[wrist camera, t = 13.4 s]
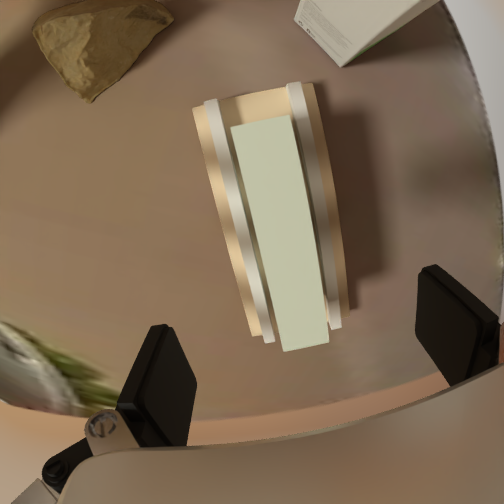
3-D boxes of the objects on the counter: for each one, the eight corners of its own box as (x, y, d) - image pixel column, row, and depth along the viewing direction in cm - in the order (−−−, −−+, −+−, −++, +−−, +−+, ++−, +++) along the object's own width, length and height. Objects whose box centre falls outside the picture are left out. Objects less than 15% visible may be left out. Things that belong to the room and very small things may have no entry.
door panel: (237, 131, 23) (230, 127, 16) (280, 122, 23) (289, 114, 16) (277, 305, 28) (283, 351, 22) (314, 297, 28) (329, 342, 21)
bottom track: (194, 109, 23) (188, 106, 21) (310, 84, 22) (316, 79, 20) (252, 330, 31) (252, 345, 28) (347, 311, 30) (353, 324, 27)
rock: (169, -29, 16) (65, 2, 15) (160, -26, 12) (25, 23, 11) (182, 67, 25) (90, 89, 25) (180, 104, 21) (66, 133, 20)
